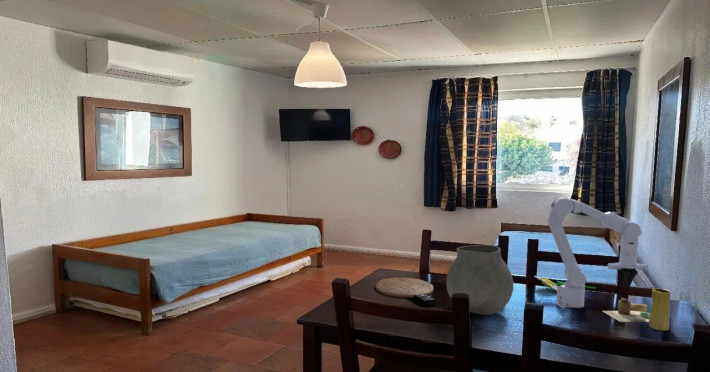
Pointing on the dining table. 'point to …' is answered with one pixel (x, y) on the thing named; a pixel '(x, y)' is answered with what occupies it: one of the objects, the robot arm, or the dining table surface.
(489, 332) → the dining table surface
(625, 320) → the tuner board
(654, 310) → the vase
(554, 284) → the decorative flower
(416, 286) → the trivet
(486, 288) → the ceramic pot
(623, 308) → the knob
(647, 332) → the dining table surface
